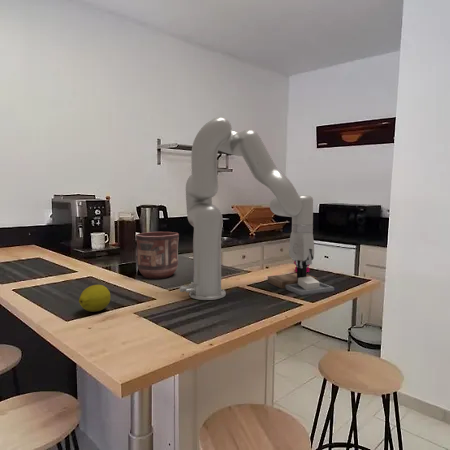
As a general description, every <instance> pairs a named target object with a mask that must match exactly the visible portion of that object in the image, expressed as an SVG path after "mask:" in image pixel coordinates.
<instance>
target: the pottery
mask: <svg viewBox="0 0 450 450" xmlns="http://www.w3.org/2000/svg"><path fill="white" fill-rule="evenodd" d="M179 239H180V233H178V232H176V231H175V232H174V231H173V232H172V231H150V232H149V231H147V232H141V233H137V234H136V235H135V240H136V250H137V251H136V252H137V253H136V254H137V260H136V261H137V269H138V271H139V273H140V274H141V275H142V276H143V278H146V279H152V280H154V279H155V280H158V279H159V280H160V279H166V278H170V277H172V276H173V275H174V274H175V273H176V271H177V269H178V267H179V252H178V251H179V250H178V249H179Z"/></svg>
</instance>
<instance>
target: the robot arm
mask: <svg viewBox="0 0 450 450" xmlns="http://www.w3.org/2000/svg"><path fill="white" fill-rule="evenodd" d="M232 128H233V127H232V125H231V123H230V120H228V119H227V118H225V117H220V116H219V117H214V118H212V119H211V120H208V122H207V123H205V124H204V125H203V126H202V127H201V128H200V129H199V130H198V132H197V134H196V136H195V137H194V140H193V143H192V146H191V147H192V148H191V154H190V155H191V157H190V158H191V160H190V161H191V163H190V164H191V175H190V176H189V177H188V178H187V180H186V182H185V203H186V215H187V220H188V223H189V224H190V225H191V226H192V227H193V235H192V236H193V239H192V252H193V255H192V260H193V261H192V263H193V281H190V284H188V285H181V286H179V292H180V293H186V294H187V293H188V296H189V297H190V298H192V299H194V300H200V301H213V300H214V301H215V300H219V299H222V298H224V297H226V294H227V293H226V292H227V291H226V290H224V289H222V232H223V224H224V223H223V222H224V221H223V214H222V212H221V210H220V209H219V208H218V207H217V206H216V205H214V204H213V199H212V198H214V197H215V196H216V195H217V193H218V190H219V181H218V178H219V177H218V166H217V165H218V153H219V152H222V153H225V154H229V155H232V156H236V157H242V158H243V160H244V162H245V163H246V166H247V167H248V168H249V171H250V173H251V174H252V176H253V178H254V179H255V180H256V181H258V182H259V183H261V185H264V186H265V187H267V188H268V189H269V190H270V191H271V193H272V194H273V195H274V197H273V198H272V199H271V200H270V201H269V209H270V211H271V212H272V213H273V214H274V215H276V216H279V217H289V218H291V232H290V236H289V244H288V245H289V246H288V257H289V258H291V259H292V261H293V262H294V261H295V262H296V265H295V267H297V272H296V273H297V278H301V277H306V274H308V273H307V267H309V266H310V265H312V264H313V260H314V258H315V241H314V234H313V232H314V230H313V229H314V199H313V197H312V196H311V195H300V194H299V192H297V190H296V188H295V186H294V184H293V183H292V182H291V180H290V179H289V178H288V177H287V176H286V175H285V173H283V172H282V171H281V170H280V169H279V167H278V166H277V165H276V163H275V162H274V160H273V159H272V156H271V154H270V153H269V151H268V149H267V148H266V145H265V144H264V141H263V140H262V138H261V136H260V135H259V133H258V132H257V131H256V130H253V129H246V130H242V131H234V130H232ZM308 265H309V266H308Z"/></svg>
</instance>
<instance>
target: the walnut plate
mask: <svg viewBox="0 0 450 450" xmlns="http://www.w3.org/2000/svg"><path fill="white" fill-rule="evenodd" d="M310 276H311V277H313V278H314V279H316V280H317V281H318V277H316V276H313V275H310V274H308V273H307V274H306V277H310ZM267 283H268V284H269V285H270V284H271V286H272V285H273V286H275V287H277V288H279V289H285V285H289V284H297V283H298V278H297V272H294V273H285V274H278V275H277V274H276V275H269V276H267Z"/></svg>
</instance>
